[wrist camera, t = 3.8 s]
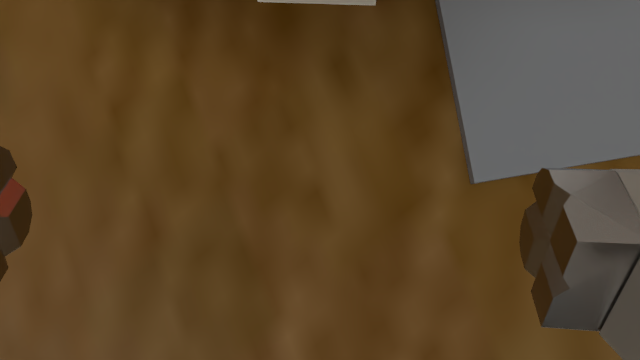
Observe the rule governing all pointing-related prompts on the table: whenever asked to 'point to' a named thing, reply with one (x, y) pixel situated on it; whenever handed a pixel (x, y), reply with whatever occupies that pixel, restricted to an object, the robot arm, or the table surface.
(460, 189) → the table surface
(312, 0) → the block
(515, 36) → the slate tile
